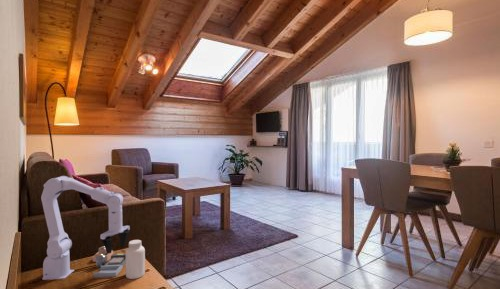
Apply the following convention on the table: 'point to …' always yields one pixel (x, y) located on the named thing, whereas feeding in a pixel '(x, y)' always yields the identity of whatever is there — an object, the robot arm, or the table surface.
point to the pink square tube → (106, 256)
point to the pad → (116, 260)
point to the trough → (108, 271)
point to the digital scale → (117, 257)
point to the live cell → (100, 260)
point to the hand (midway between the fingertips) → (116, 249)
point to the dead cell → (102, 250)
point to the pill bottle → (135, 260)
